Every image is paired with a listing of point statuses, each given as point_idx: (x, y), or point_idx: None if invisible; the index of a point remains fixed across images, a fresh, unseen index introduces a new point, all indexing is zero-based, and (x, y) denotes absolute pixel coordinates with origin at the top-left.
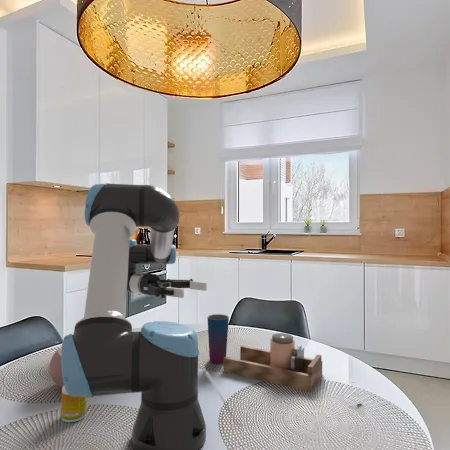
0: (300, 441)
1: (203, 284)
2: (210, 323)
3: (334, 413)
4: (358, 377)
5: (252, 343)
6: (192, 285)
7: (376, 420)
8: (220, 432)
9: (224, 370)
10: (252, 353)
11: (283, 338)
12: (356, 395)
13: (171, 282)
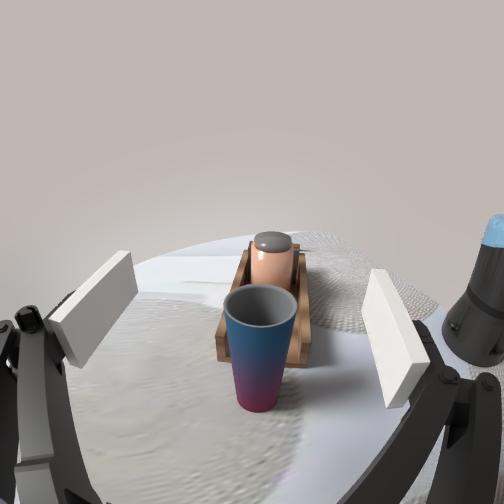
0: (387, 272)
1: (124, 268)
2: (293, 323)
3: (325, 260)
4: (226, 250)
5: (102, 358)
6: (83, 332)
7: (315, 244)
8: (431, 313)
9: (306, 360)
10: None
11: (283, 236)
12: None
13: (64, 480)
